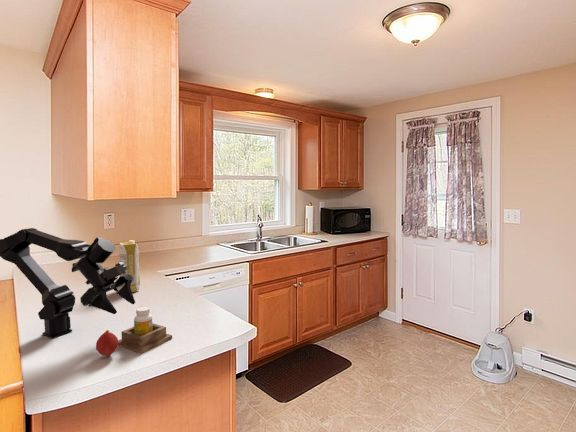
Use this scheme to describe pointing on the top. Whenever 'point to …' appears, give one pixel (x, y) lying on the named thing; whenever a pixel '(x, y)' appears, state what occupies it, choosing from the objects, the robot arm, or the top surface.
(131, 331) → the bottle holder
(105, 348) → the onion
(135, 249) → the juice carton
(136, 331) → the supplement bottle
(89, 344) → the top surface
